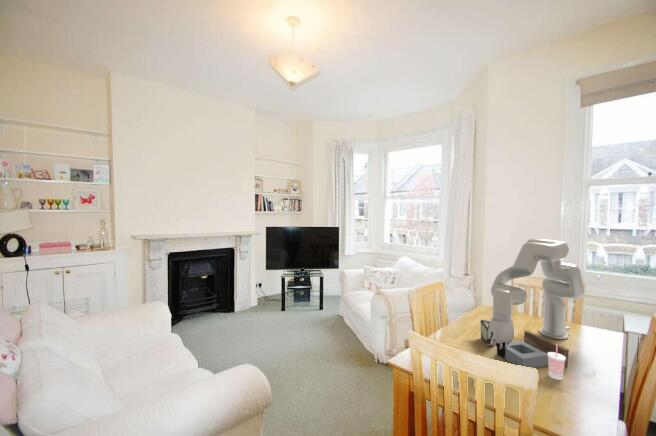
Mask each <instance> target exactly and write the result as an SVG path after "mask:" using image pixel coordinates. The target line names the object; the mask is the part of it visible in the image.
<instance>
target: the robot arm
mask: <svg viewBox="0 0 656 436" xmlns="http://www.w3.org/2000/svg"><path fill="white" fill-rule="evenodd" d="M569 249H570V248H569V245H568V244H567V242H565V241H563V240H561V241H560V240H555V239H554V240H553V239H542V238H536V237H534V238H533V237H532V238H530V239H528V240H527V241H526V242H525V243H524V244H523V245H522V246H521V248H520V250H519V252H518V254H517V257H516V259H515V261H514V263H513V265H512V266H509V267H507V268H506V269H504V270H502V271H501V272H499V274H497V275H496V277H495V279H494V281H493V283H492V285H491V289H490V294H491V296H492V317H491V318H490V325H489V333H488V338H489V339H491V344H492V345H494V346H495V347H496V355H497V356H498V357H499V358H500V359H505V351H506V348H507V345H508V344H509V343H512V342H513V341H514V337H515V336H514V335H515V329H514V327H515V326H514V322H513V306H514V305H515V306H516V305H517V306H518V305H522V304H524V303H525V302H526V301H527V300H528V299H527V298H528V293H527V291H525V290H524V289H523V288H520V287H517V286H513V285H510V284H509V285H508V284H506V283H508V282H510V281H511V280H514V279H519V278H526V277H529V276H530V277H531V276H532V275H533V274H534V272H535V270H536V268H537V265H538V264H539V261H540V266H541V271H542V274H543V276H544V277H545V278H544V279H543V280H542V284H541V285H542V291H543V320H542V322H543V323H542V327H541V328H540V327H539V333H540V334H542V335H543V336H545V337H549V338H551V339H557V340H566V339H567V340H568V338H569V334H568V333H567V331H571V330H572V328H571V327H570V326H566V311H567V308H566V305H567V304H566V302H565V300H564V298H566V299H570V300H577V301H579V300H581V299H583V297H584V295H585V289H584V283H583V276H582V272H581V269H580V267H579V266H577V265H576V264H574V263H566V262H562V261H561V260H564V259H565V258H566V257H567V256H568V254H569V252H570V250H569ZM503 357H504V358H503Z"/></svg>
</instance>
